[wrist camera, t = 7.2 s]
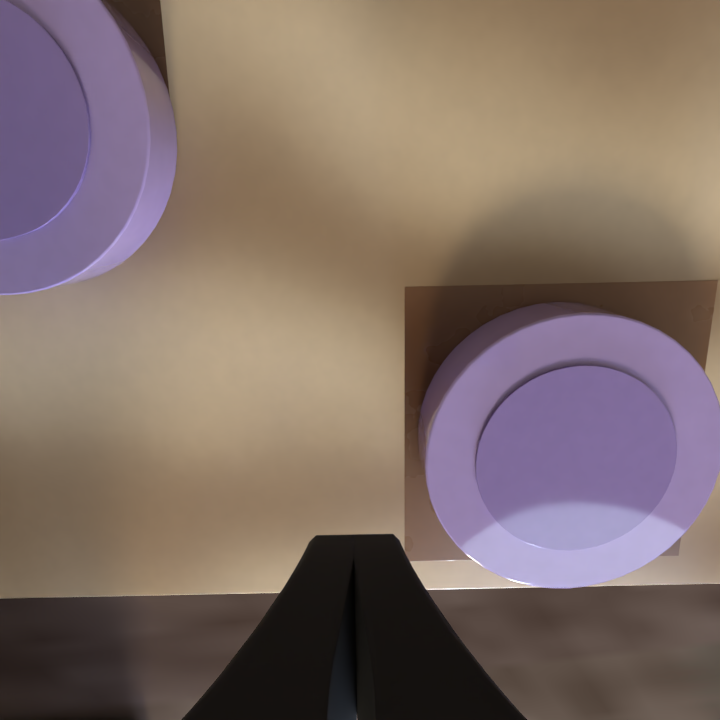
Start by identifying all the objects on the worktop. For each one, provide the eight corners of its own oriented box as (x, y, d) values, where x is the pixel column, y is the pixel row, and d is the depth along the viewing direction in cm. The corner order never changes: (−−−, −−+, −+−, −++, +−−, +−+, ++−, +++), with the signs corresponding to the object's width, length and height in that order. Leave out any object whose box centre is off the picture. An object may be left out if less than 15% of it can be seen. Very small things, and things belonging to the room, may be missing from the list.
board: (714, 573, 16) (724, 584, 16) (-72, 589, 16) (-85, 601, 16) (847, -242, 11) (869, -263, 11) (-276, -219, 11) (-305, -238, 11)
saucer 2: (668, 542, 16) (711, 585, 14) (420, 554, 16) (428, 598, 14) (694, 294, 14) (746, 305, 12) (413, 309, 14) (422, 321, 12)
